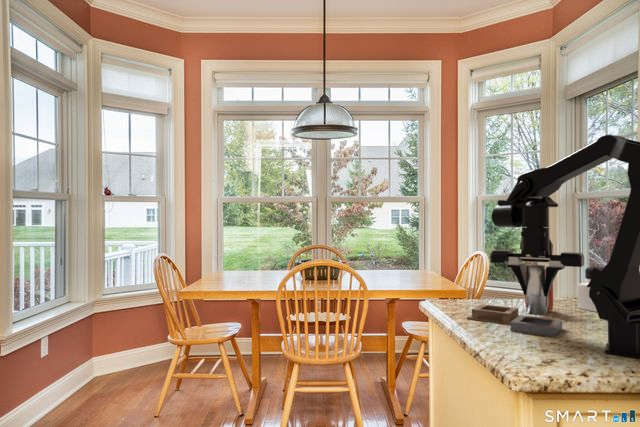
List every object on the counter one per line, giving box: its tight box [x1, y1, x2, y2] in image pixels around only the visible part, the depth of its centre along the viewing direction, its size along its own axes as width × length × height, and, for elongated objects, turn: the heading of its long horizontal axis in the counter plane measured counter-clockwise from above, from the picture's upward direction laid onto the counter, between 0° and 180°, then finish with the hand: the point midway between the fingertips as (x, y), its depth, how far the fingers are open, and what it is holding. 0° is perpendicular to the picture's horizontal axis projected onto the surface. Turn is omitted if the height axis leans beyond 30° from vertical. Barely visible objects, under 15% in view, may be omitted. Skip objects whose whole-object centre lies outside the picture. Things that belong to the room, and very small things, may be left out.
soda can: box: [524, 266, 554, 314], centre depth 119 cm, size 7×7×12 cm
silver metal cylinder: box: [525, 263, 547, 316], centre depth 98 cm, size 4×4×11 cm
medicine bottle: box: [577, 266, 599, 313], centre depth 121 cm, size 7×7×12 cm
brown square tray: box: [466, 303, 521, 326], centre depth 110 cm, size 11×11×2 cm
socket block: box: [510, 314, 563, 338], centre depth 98 cm, size 9×9×2 cm
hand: (535, 295), depth 98 cm, fingers closed on silver metal cylinder, 4 cm apart
